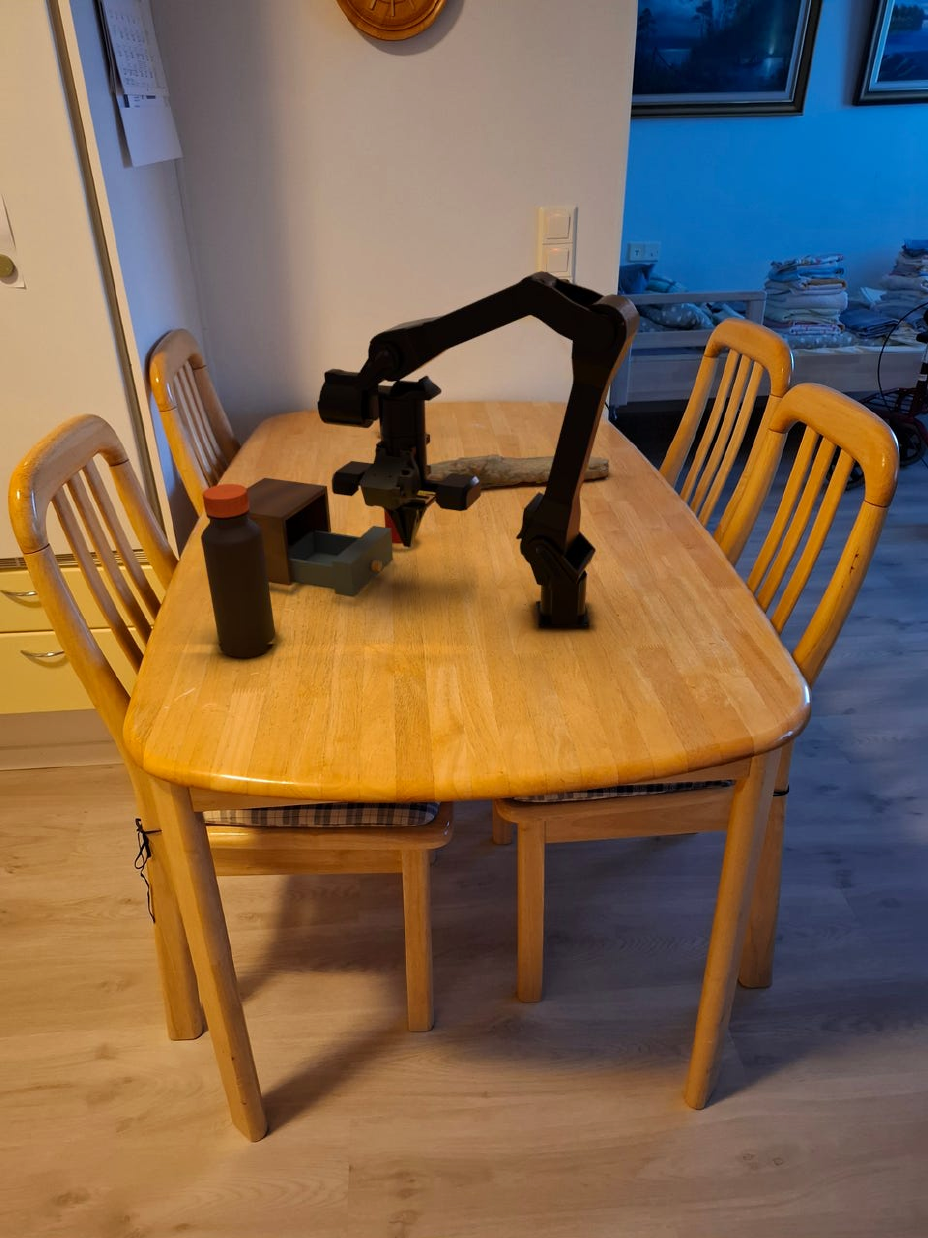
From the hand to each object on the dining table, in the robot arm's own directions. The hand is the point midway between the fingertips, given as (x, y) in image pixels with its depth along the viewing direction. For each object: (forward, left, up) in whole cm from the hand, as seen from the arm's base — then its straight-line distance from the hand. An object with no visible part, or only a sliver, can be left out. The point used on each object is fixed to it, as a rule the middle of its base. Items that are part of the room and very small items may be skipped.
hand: (408, 546), depth 119 cm
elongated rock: (+43, -15, -7) cm, 46 cm away
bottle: (-14, +19, -7) cm, 25 cm away
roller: (+15, +3, -7) cm, 17 cm away
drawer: (+4, +10, -6) cm, 13 cm away
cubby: (+7, +19, -7) cm, 21 cm away
